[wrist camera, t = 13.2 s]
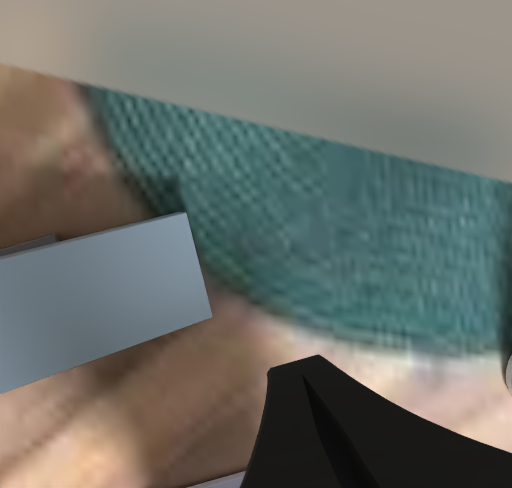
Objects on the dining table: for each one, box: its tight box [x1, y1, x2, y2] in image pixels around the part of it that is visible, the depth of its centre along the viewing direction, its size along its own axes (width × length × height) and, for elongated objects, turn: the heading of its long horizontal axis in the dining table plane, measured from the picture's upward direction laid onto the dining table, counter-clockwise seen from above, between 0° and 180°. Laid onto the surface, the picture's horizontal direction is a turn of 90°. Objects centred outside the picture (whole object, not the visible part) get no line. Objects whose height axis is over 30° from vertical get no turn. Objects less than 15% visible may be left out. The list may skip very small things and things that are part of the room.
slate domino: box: [0, 212, 213, 394], centre depth 17 cm, size 5×2×9 cm
